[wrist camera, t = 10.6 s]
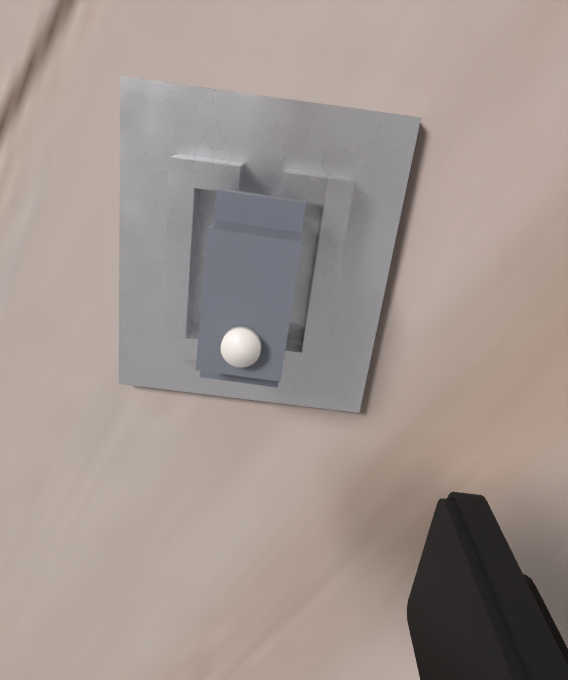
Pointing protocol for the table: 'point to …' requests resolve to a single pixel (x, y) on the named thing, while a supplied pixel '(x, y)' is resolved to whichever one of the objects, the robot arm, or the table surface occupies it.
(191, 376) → the plate
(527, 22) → the table surface
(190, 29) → the table surface
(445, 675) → the robot arm
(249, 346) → the block
